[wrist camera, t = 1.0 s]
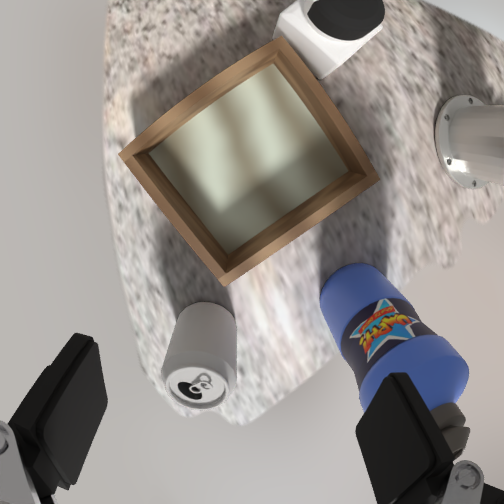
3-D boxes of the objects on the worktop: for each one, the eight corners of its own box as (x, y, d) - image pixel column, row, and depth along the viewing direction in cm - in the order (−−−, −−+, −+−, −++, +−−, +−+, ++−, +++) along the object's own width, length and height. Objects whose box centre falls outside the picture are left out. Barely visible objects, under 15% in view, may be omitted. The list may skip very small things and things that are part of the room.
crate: (274, 53, 27) (281, 35, 22) (357, 173, 32) (380, 179, 26) (138, 152, 30) (118, 154, 25) (226, 264, 35) (224, 287, 29)
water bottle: (393, 306, 38) (497, 443, 14) (333, 338, 39) (400, 502, 16) (374, 248, 35) (514, 385, 12) (306, 284, 36) (384, 468, 13)
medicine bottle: (359, 45, 27) (409, 9, 16) (319, 81, 29) (360, 51, 17) (312, 4, 25) (343, -48, 14) (270, 38, 27) (286, -11, 15)
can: (165, 319, 37) (142, 383, 26) (209, 286, 36) (197, 349, 25) (205, 356, 39) (196, 424, 28) (249, 328, 38) (252, 396, 27)
